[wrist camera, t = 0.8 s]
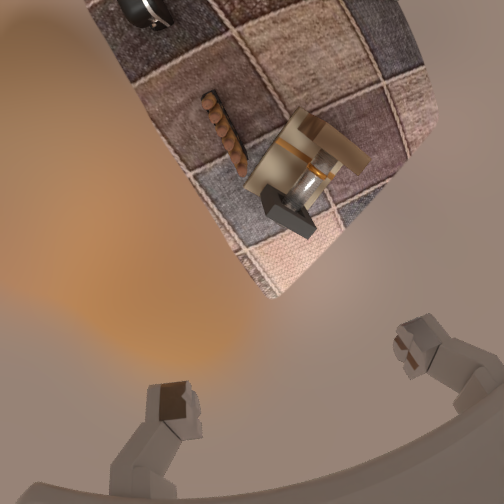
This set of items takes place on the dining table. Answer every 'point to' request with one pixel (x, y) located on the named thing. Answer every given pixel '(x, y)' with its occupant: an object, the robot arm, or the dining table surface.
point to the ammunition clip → (226, 131)
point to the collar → (286, 213)
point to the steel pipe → (309, 181)
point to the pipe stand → (304, 155)
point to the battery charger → (146, 13)
